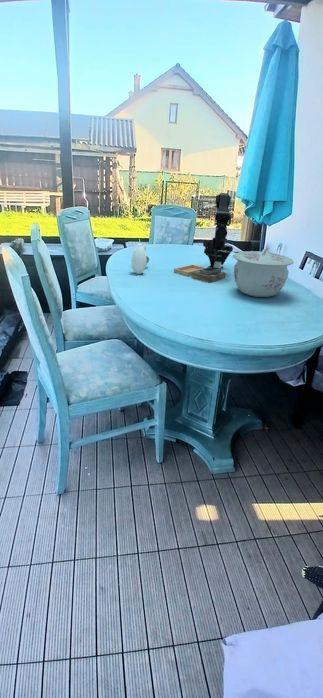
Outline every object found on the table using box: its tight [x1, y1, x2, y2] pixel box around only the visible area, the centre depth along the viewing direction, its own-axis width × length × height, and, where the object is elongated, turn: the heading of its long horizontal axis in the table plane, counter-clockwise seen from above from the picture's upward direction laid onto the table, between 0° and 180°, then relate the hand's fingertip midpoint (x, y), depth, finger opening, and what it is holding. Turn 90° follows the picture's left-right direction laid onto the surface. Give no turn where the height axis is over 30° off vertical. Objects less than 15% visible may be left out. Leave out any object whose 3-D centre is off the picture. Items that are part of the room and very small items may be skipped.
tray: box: [173, 264, 206, 277], centre depth 211 cm, size 17×10×2 cm, turn 138°
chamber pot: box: [232, 248, 295, 298], centre depth 177 cm, size 28×28×21 cm
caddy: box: [200, 261, 223, 276], centre depth 201 cm, size 12×6×8 cm, turn 138°
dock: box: [190, 271, 227, 284], centre depth 201 cm, size 15×12×3 cm
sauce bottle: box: [130, 238, 148, 275], centre depth 199 cm, size 8×8×18 cm
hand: (216, 266), depth 204 cm, fingers open, 9 cm apart
